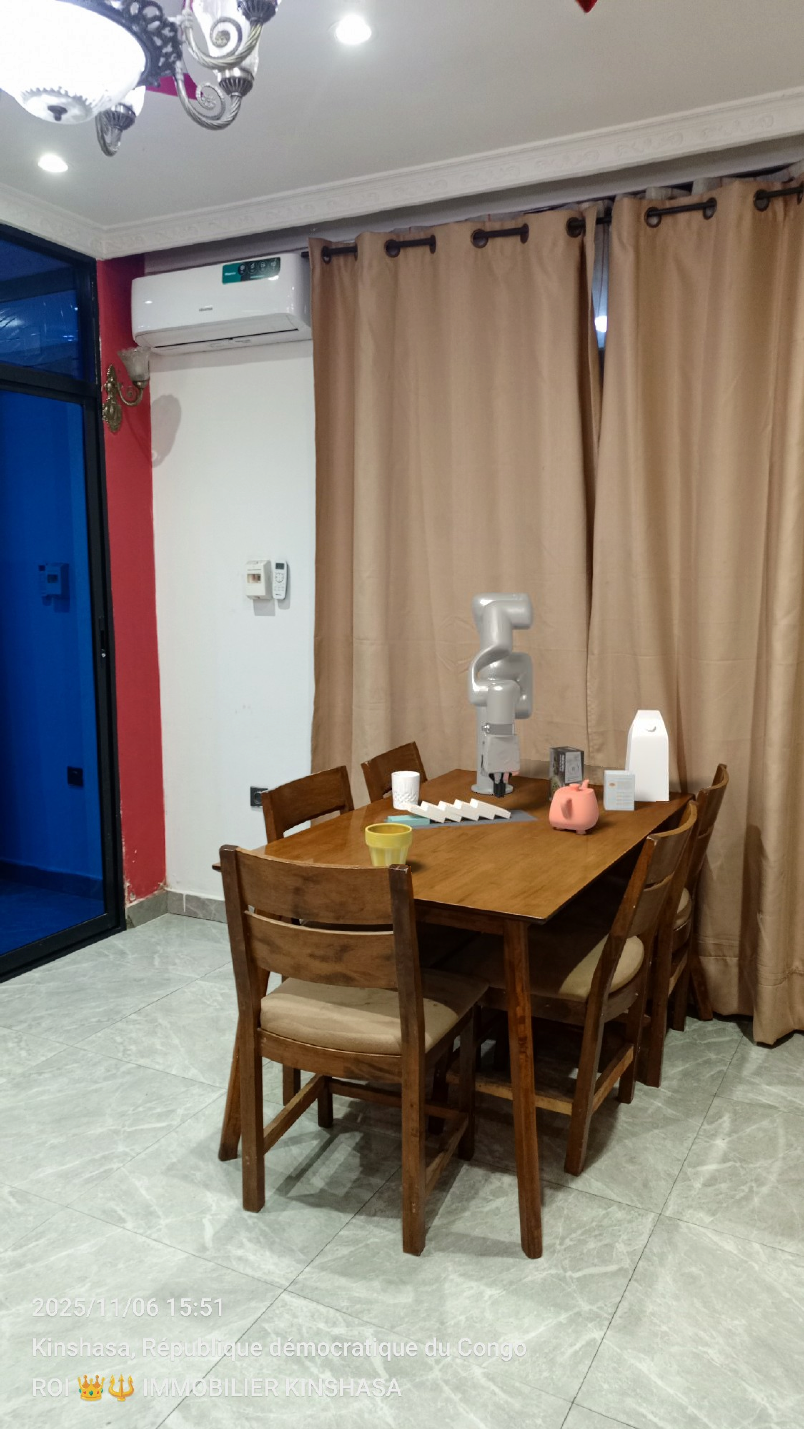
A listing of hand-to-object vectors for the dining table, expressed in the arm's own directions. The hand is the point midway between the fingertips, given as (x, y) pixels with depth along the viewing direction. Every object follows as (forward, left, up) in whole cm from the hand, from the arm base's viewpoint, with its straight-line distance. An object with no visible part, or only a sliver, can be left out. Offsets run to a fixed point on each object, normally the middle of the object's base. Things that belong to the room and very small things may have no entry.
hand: (499, 796), depth 259 cm
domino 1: (0, -20, -5) cm, 21 cm away
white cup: (-18, -21, -6) cm, 28 cm away
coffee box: (-11, +25, -6) cm, 28 cm away
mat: (0, -11, -6) cm, 13 cm away
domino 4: (0, -7, -5) cm, 8 cm away
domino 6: (0, +2, -5) cm, 5 cm away
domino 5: (0, -2, -5) cm, 5 cm away
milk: (-13, +52, -6) cm, 54 cm away
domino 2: (0, -16, -5) cm, 17 cm away
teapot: (+15, +15, -6) cm, 22 cm away
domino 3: (0, -12, -5) cm, 13 cm away
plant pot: (+37, -41, -6) cm, 56 cm away
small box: (-2, +37, -6) cm, 38 cm away
